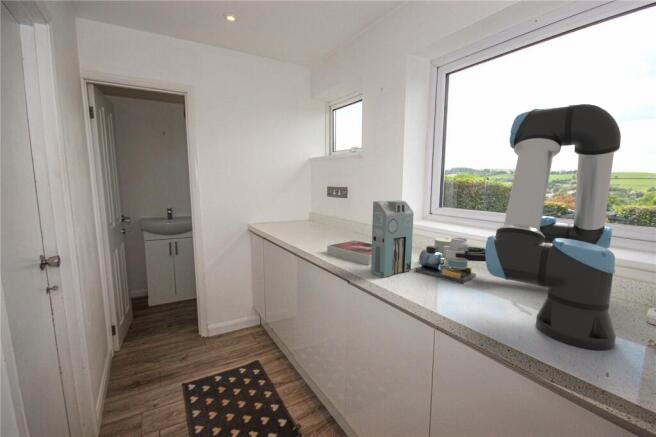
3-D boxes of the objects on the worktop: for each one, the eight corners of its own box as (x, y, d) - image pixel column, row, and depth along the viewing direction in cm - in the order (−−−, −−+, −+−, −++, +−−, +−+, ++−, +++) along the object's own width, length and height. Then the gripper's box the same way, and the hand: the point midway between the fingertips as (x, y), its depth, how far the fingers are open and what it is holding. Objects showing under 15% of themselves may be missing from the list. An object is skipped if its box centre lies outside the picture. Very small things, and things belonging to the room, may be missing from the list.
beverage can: (457, 265, 119) (459, 237, 118) (471, 270, 113) (473, 240, 111) (444, 266, 117) (446, 238, 115) (456, 271, 110) (458, 241, 109)
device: (384, 278, 113) (387, 202, 109) (370, 273, 119) (372, 201, 116) (411, 271, 123) (414, 201, 119) (397, 266, 129) (399, 200, 125)
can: (457, 263, 135) (458, 238, 134) (449, 267, 128) (451, 241, 127) (437, 260, 141) (439, 236, 140) (429, 263, 135) (431, 238, 133)
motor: (462, 283, 108) (464, 256, 106) (415, 271, 122) (416, 247, 121) (475, 277, 115) (477, 251, 114) (429, 266, 130) (431, 243, 129)
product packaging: (354, 248, 166) (354, 240, 165) (395, 258, 145) (396, 248, 145) (327, 254, 151) (327, 245, 151) (368, 266, 131) (369, 255, 130)
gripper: (518, 273, 100) (447, 267, 106) (500, 258, 119) (441, 254, 125) (519, 252, 99) (448, 247, 105) (502, 241, 118) (442, 238, 124)
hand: (445, 251), depth 115 cm, fingers closed on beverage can, 7 cm apart
